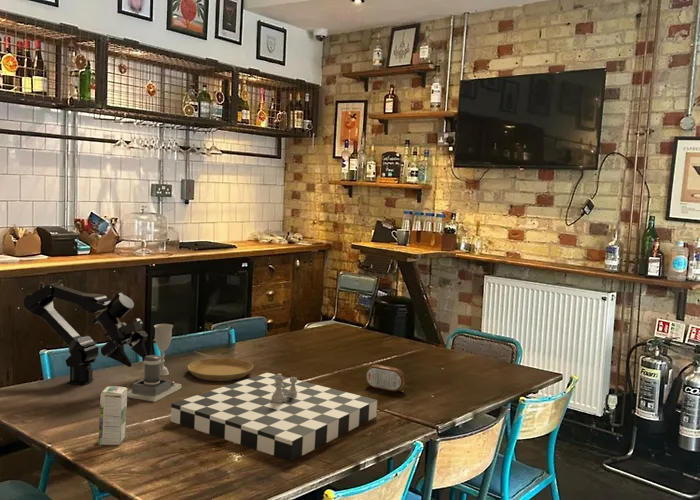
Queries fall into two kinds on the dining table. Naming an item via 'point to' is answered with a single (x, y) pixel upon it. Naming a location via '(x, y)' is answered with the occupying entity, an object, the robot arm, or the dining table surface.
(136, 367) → the dining table surface
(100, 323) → the robot arm
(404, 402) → the dining table surface
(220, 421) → the checkerboard
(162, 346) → the chalice
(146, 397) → the white base plate
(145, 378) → the grey rounded cylinder
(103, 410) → the syrup box
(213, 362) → the plant saucer
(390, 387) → the tin
